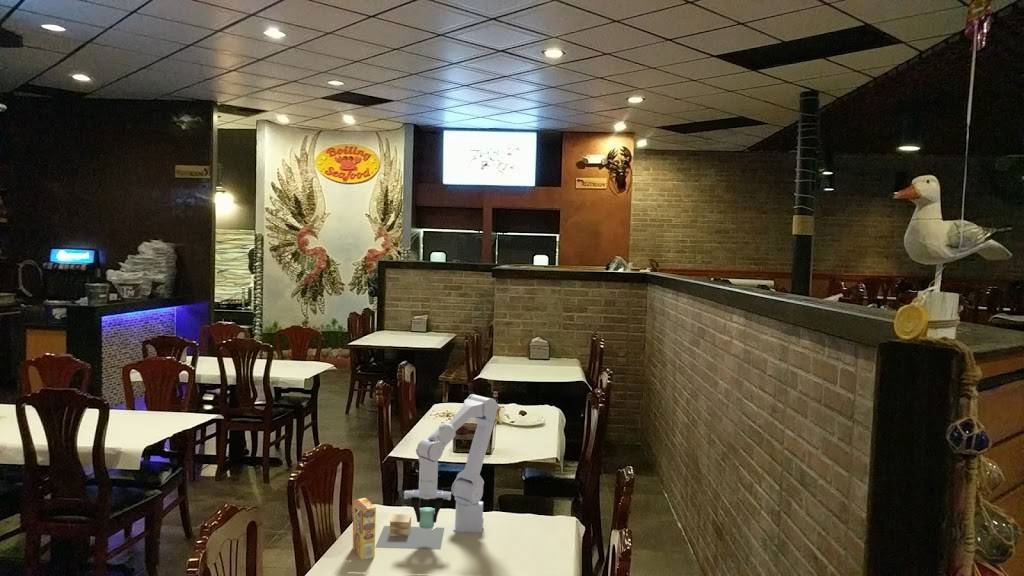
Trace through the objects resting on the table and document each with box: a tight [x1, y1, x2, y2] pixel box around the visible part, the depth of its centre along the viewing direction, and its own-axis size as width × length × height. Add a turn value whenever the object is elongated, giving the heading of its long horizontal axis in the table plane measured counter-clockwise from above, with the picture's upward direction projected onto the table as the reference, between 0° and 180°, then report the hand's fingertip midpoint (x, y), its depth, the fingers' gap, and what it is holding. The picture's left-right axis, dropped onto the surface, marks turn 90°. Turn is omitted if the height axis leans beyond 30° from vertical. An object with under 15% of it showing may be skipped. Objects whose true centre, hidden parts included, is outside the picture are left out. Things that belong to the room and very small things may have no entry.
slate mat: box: [375, 525, 445, 550], centre depth 203 cm, size 20×16×1 cm
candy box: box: [352, 497, 377, 561], centre depth 191 cm, size 9×4×15 cm, turn 33°
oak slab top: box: [389, 514, 412, 529], centre depth 206 cm, size 6×6×2 cm
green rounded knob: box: [418, 506, 435, 529], centre depth 199 cm, size 5×5×5 cm
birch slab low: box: [390, 522, 412, 536], centre depth 206 cm, size 6×6×2 cm
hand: (426, 521), depth 199 cm, fingers closed on green rounded knob, 5 cm apart
